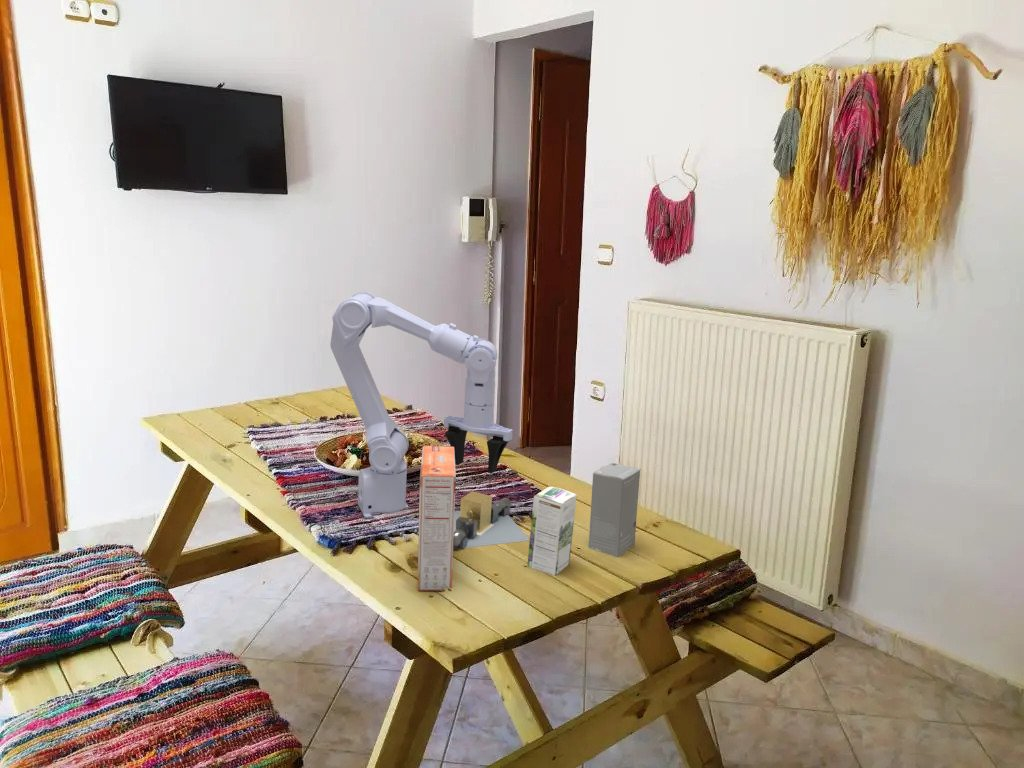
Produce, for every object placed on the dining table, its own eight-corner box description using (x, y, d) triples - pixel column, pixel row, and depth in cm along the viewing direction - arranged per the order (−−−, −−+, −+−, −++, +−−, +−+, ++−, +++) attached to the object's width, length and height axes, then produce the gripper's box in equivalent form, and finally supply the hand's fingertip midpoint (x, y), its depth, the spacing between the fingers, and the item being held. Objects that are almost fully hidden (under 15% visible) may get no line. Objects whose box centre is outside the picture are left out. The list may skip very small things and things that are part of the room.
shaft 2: (492, 523, 157) (493, 508, 157) (477, 518, 159) (478, 503, 158) (513, 512, 163) (514, 497, 163) (499, 507, 165) (499, 493, 164)
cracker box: (417, 553, 145) (421, 444, 140) (451, 553, 146) (456, 445, 141) (415, 592, 132) (419, 473, 126) (451, 592, 132) (457, 474, 127)
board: (449, 553, 146) (449, 548, 146) (426, 517, 160) (426, 513, 160) (530, 544, 152) (530, 539, 151) (501, 510, 166) (501, 506, 166)
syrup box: (541, 558, 146) (547, 484, 143) (570, 567, 143) (577, 492, 140) (526, 570, 141) (532, 494, 138) (556, 580, 139) (562, 502, 135)
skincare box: (618, 561, 147) (626, 481, 143) (583, 550, 151) (590, 471, 147) (636, 545, 154) (645, 468, 150) (603, 534, 158) (610, 459, 154)
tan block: (478, 533, 152) (480, 504, 151) (458, 528, 154) (459, 499, 153) (491, 524, 157) (492, 495, 155) (471, 518, 159) (473, 490, 157)
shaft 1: (459, 532, 153) (459, 516, 152) (476, 535, 152) (477, 520, 151) (443, 547, 146) (444, 531, 145) (461, 551, 145) (462, 535, 144)
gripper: (521, 404, 157) (516, 469, 160) (457, 391, 163) (454, 454, 166) (504, 412, 151) (500, 480, 154) (439, 399, 157) (436, 464, 160)
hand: (475, 467), depth 160 cm, fingers open, 7 cm apart
